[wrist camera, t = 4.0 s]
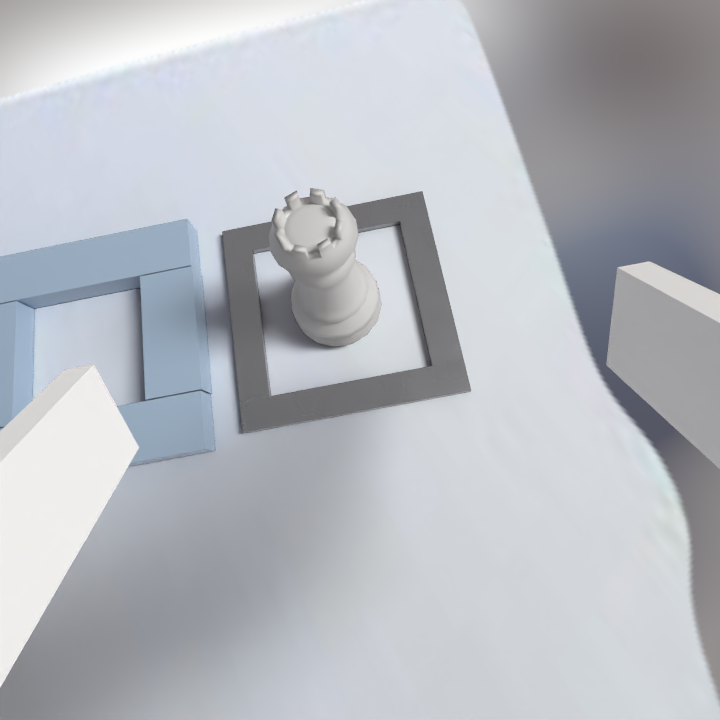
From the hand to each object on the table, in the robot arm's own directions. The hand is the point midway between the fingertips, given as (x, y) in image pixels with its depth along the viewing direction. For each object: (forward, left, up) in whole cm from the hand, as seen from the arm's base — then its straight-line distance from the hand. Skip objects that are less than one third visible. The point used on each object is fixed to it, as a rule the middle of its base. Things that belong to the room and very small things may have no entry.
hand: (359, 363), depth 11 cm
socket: (-14, +6, -10) cm, 18 cm away
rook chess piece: (-1, +6, -10) cm, 12 cm away
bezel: (-1, +6, -10) cm, 12 cm away
